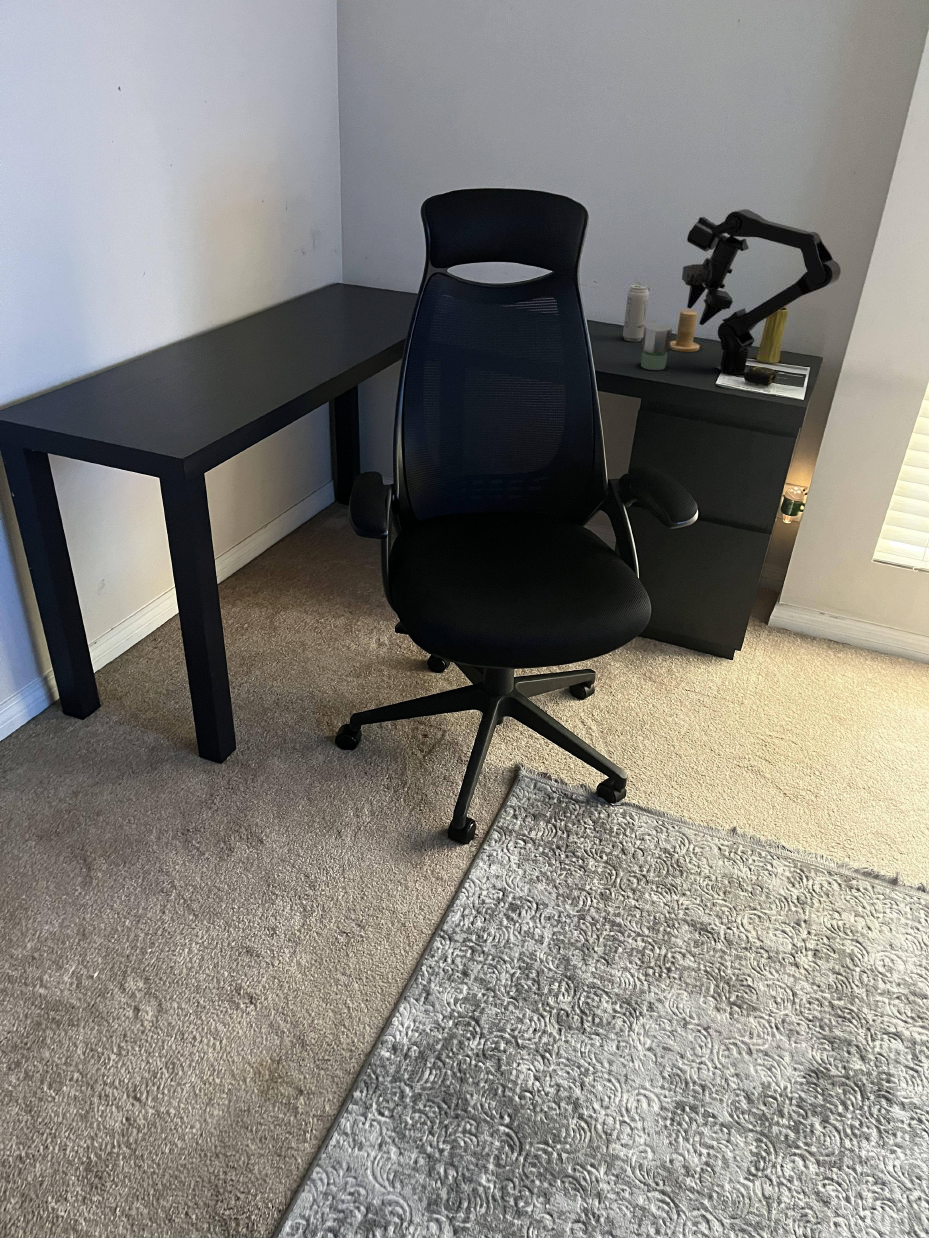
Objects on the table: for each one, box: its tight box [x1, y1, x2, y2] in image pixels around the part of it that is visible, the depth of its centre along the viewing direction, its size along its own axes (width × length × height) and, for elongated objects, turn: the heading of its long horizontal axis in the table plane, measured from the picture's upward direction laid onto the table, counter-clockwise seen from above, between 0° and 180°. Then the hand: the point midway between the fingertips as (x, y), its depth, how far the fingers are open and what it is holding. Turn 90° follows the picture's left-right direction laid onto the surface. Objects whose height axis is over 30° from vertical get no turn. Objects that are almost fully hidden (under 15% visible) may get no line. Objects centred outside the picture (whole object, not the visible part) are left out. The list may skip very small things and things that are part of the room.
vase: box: [756, 306, 789, 364], centre depth 242 cm, size 6×6×14 cm
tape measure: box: [743, 366, 777, 387], centre depth 226 cm, size 7×7×4 cm
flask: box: [640, 350, 668, 371], centre depth 236 cm, size 7×7×10 cm
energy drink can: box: [622, 284, 650, 342], centre depth 257 cm, size 6×6×15 cm
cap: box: [641, 323, 673, 354], centre depth 234 cm, size 7×7×6 cm
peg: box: [669, 309, 701, 353], centre depth 252 cm, size 9×9×10 cm
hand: (694, 316), depth 236 cm, fingers open, 9 cm apart
